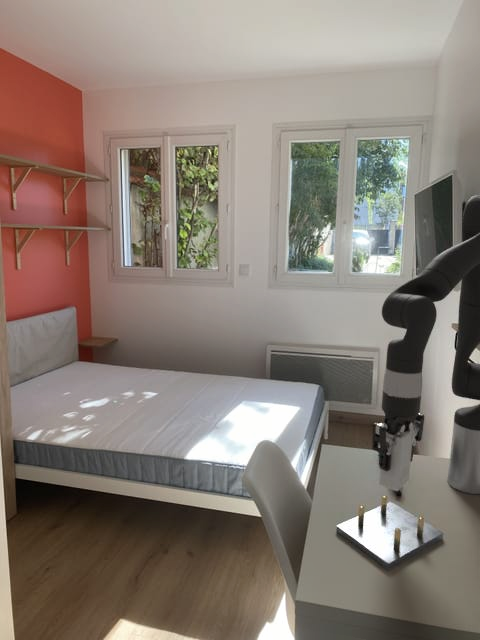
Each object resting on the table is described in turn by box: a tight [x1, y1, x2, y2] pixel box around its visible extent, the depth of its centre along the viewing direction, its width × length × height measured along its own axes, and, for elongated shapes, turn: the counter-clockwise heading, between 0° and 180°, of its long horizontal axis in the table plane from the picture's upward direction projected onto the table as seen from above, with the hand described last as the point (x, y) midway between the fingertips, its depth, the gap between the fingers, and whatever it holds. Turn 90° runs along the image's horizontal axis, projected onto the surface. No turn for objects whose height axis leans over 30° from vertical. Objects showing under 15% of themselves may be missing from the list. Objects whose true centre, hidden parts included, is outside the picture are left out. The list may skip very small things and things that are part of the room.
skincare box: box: [379, 431, 413, 492], centre depth 96 cm, size 6×4×12 cm
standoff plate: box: [336, 495, 444, 571], centre depth 99 cm, size 18×14×6 cm
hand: (395, 464), depth 96 cm, fingers closed on skincare box, 6 cm apart
